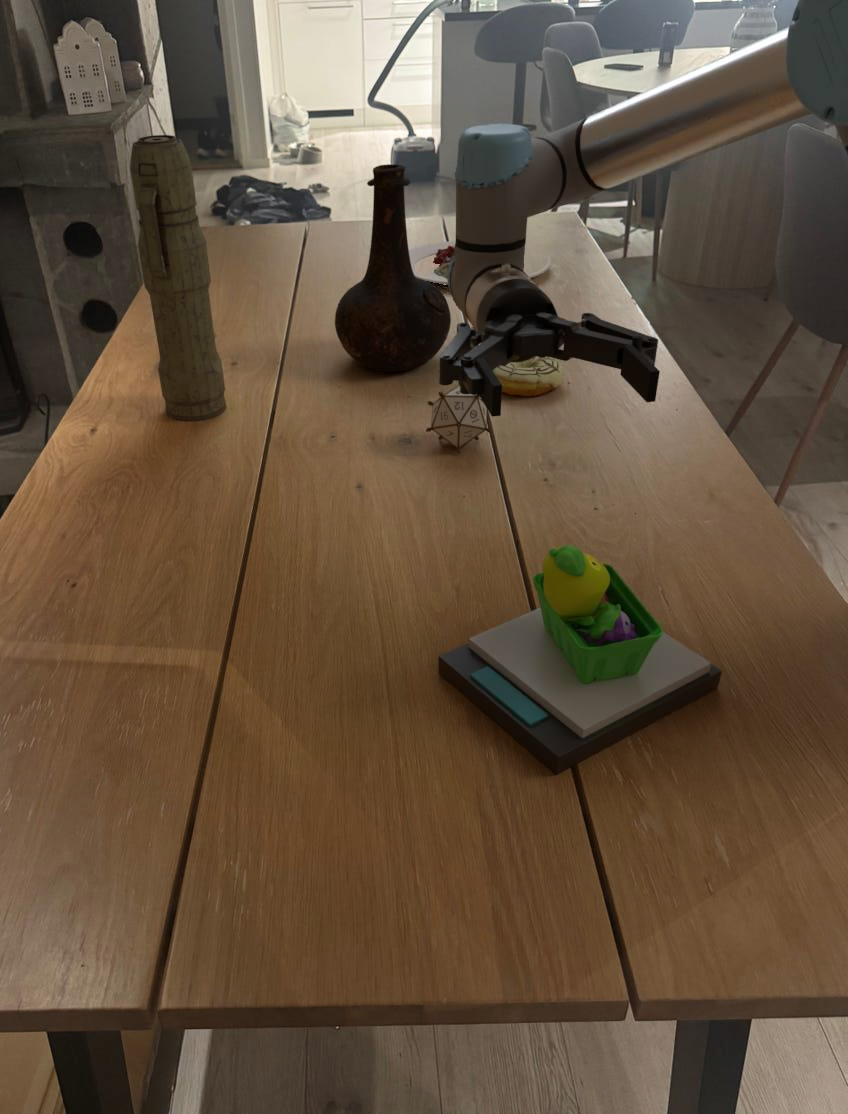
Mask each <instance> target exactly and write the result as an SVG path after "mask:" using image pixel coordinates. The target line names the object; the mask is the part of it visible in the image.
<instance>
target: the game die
mask: <svg viewBox="0 0 848 1114" xmlns="http://www.w3.org/2000/svg"><path fill="white" fill-rule="evenodd" d="M457 383H458V385H457V386H455V387H454V388H452V389H450V390H449V391H448V392H446V393H444V392H443V391H438V396H439V398H438V399H437V400H435V401H434V402H433V401H431V400H429V401H427V405H428V406H432V407H431V422H430V424H431V425H430V427H426V430H425V432H428V433H429V432H431V431H433V432H434V433H436V434H437V435H438V441H440V440H443V439H444V440H445V441H446V442H448V443H449V444H450V445H452V446H453V447H455V448H456V450H455V453H456V455H457V456H459V455H460V454H461V448H463V447H464V446H465V445H467V444H468V443H470V442H471V441H473V440H475V441H479V440H480V437H479V436H480V435H481V434H483V433H484V432H487V433H488V434H489V433H493V430H492V428H490V427H488V409H487V408H486V406H485V404H484V403H483V401H482V399H481V398H480V396H479V394H476V395H472V394H462V393H460V381H458V382H457Z"/></svg>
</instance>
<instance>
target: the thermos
mask: <svg viewBox="0 0 848 1114" xmlns="http://www.w3.org/2000/svg"><path fill="white" fill-rule="evenodd" d="M129 162H130V163H129V169H130V170H129V171H130V177H131V183H132V190H133V195H134V201H135V202H134V203H135V207H136V210H137V211H138V216H139V219H138V226H139V234H138V241H137V243H138V244H137V249H138V254H139V261H140V267H141V273H142V278H143V285H144V288H145V290H146V291H147V293H148V295H149V300H150V306H151V312H152V316H153V317H152V318H153V323H154V329H155V330H154V331H155V335H156V342H157V347H158V354H159V364H158V369H157V371H158V377H159V383H160V389H161V395H162V397H163V399H164V404H165V413H166V415H167V414H168V415H167V416H168V417H169V416H170V417H169V418H171V417H172V418H171V419H173V418H174V419H173V420H176V419H180V420H179V421H182V420H198V421H203V420H202V419H205V420H208V418H209V419H212V418H215V417H217V416H219V415H221V414H222V413H223V411H224V412H225V410H226V409H227V402H226V399H225V391H226V385H225V377H224V370H223V362H222V359H221V357H220V355H219V352H218V351H217V346H216V337H215V330H214V322H213V314H212V313H213V312H212V306H211V299H210V292H209V289H210V287H211V286H210V285H211V282H212V279H211V271H210V262H209V254H208V246H207V239H206V237H205V235H204V233H203V231H202V228H201V225H200V222H199V221H200V220H199V215H198V214H197V210H196V206H197V197H196V189H195V183H194V175H193V167H192V162H191V159H190V156H189V154H188V151H187V150H186V147H185V145H184V143H183V141H182V139H180V138H176V135H170V134H156V135H155V134H154V135H145V136H142V137H139V138H137V140H136V141H134V142H132V147H131V154H130V161H129ZM225 408H226V409H225Z"/></svg>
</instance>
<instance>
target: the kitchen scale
mask: <svg viewBox="0 0 848 1114" xmlns="http://www.w3.org/2000/svg"><path fill="white" fill-rule="evenodd" d="M437 664H438V665H437V667H438V670H437V672H438V674H439V675H440V676H441V677H442V678H443V679H445V681H447V682H448V683H449V684H451V686H453V688H455V689H456V690H457V691H458V692H460V693H461V694H462V695H463V696H464V697H465V698H466V699H468V700H469V701H470V702H471V703H472V704H473V705H475V706H476V707H477V708H478V709H479V710H480V711H482V713H484V714H485V715H486V716H487V717H489V719H491V720H492V721H493V722H494V723H495V724H497V725H498V726H499V727H500V728H501V729H502V730H503V731H505V732H506V733H507V734H508V735H510V737H511V738H513V739H514V740H515V741H516V742H517V743H519V744H520V745H521V746H522V747H523V748H525V749H526V750H527V751H528V752H529V753H530V754H531V755H532V756H533V757H535V758H536V759H537V760H538V761H539V762H540V763H542V764H543V765H544V766H545V767H546V768H548V770H549V771H551V772H552V773H553V774H554V775H556V776H557V775H558V774H561V773H563V772H565V771H567V770H568V769H570V768H572V767H574V766H576V765H578V764H579V763H581V762H584V761H585V760H587V759H589V758H590V757H592V756H595V755H597V754H599V752H602V751H604V750H606V749H607V748H609V747H611V746H613V745H614V744H617V743H619V742H620V741H623V740H624V739H626V738H628V737H630V736H632V735H634V734H635V733H637V732H638V731H641V730H643V729H644V728H646V727H648V726H650V725H652V724H654V723H655V722H658V721H659V720H661V719H663V718H665V717H667V716H669V715H671V714H672V713H675V712H676V711H679V710H680V709H682V708H684V707H685V706H687V705H690V704H691V703H693V702H696V700H698V699H700V698H702V697H705V696H706V695H708V694H710V693H711V692H714V691H716V690H717V689H718V688H719V686H720V680H721V677H722V673H723V671H722V670H721V669H720V668H718V667H717V666H715V665H713V663H712V662H711V661H709V660H708V659H706V658H704V656H701V655H700V654H698V653H697V652H695V651H694V650H692V649H691V648H689V647H687V646H686V645H684V644H683V643H682V642H680V641H679V640H677V639H675V638H674V637H672V636H671V635H669V634H667V633H666V632H664V631H663V634H662V635H661V637H660V638H659V640H658V641H657V642H656V643H654V645H653V647H652V649H651V650H650V652H649V654H648V656H647V657H646V659H645V661H644V663H643V664H642V666H641V668H640V670H639V671H638V673H637V674H635V675H626V674H625V675H624V676H622V677H619V678H614V679H608V680H603V681H595V680H594V681H592V682H590V683H587V684H583V683H582V682H581V681H580V679H579V678H578V676H577V675H576V672H575V669H574V668H573V667H571V666H570V664H569V662H568V661H567V659H566V658H565V656H564V652H563V651H561V650H560V649H559V647H558V646H557V644H556V643H555V641H554V639H553V636H552V635H551V634H550V633H549V632H548V630H547V629H546V627H545V626H544V622H543V617H542V612H541V607H540V606H539V607H537V608H536V609H533V610H530V611H529V612H526V613H524V614H522V615H520V616H517V617H515V618H513V619H511V620H508V621H505V622H504V623H501V624H499V625H496V626H494V627H492V628H489V629H487V630H485V631H483V632H480V633H478V634H475V635H473V636H471V637H469V638H468V642H467V643H464V644H463V645H460V646H458V647H456V648H454V649H452V650H449V651H447V652H444V653H441V654H440V655H438V663H437Z"/></svg>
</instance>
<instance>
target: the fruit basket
mask: <svg viewBox="0 0 848 1114" xmlns="http://www.w3.org/2000/svg"><path fill="white" fill-rule="evenodd" d="M541 567H542V568H541V569H542V570H541V571H542V572H538V573H536V574H534V575H533V576H532V581H533V585H534V589H535V591H536V592H537V593H536V594H537V597H538V602H539V608H540V607H541V612H542V617H543V622H544V626H545V627H546V629H547V630H548V632H549V633H550V634H551V635H552V636H553V639H554V641H555V643H556V644H557V646H558V647H559V649H560V650H561V651H563V652H564V656H565V658H566V659H567V661H568V662H569V664H570V666H571V667H573V668H574V669H575V672H576V675H577V676H578V678H579V679H580V681H581V682H582V683H583V684H587V683H590V682H592V681H594V680H595V681H603V680H608V679H614V678H619V677H622V676H624V675H625V674H626V675H635V674H637V673H638V671H639V670H640V668H641V666H642V664H643V663H644V661H645V659H646V657H647V656H648V654H649V652H650V650H651V649H652V647H653V645H654V643H656V642H657V641H658V640H659V638H660V637H661V635H662V634H663V632H664V629H663V627H662V626H661V624H660V623H659V622H658V620H656V618H655V617H654V616H653V615H652V613H651V612H650V611H649V610H648V609H647V608H646V606H645V605H644V604H643V603H642V602H641V600H640V599H639V598H638V596H637V595H636V594H635V593H634V592H633V591H632V589H631V588H630V587H629V585H628V584H627V583H626V582H625V581H624V579H623V578H622V577H621V576H620V574H619V573H618V572H617V571H616V569H615V568H614V567H613V566H612V565H610V564H608V563H602V562H601V561H599V560H598V559H596V558H595V557H594V556H593V555H590V554H588V553H586V552H583V551H582V550H580V549H579V548H578V547H577V546H575V545H571V544H565V545H560V546H558V547H554V548H551V549H550V550H549V551H548V554H547V555H546V556H545V558H544V560H543V561H542V566H541Z"/></svg>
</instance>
